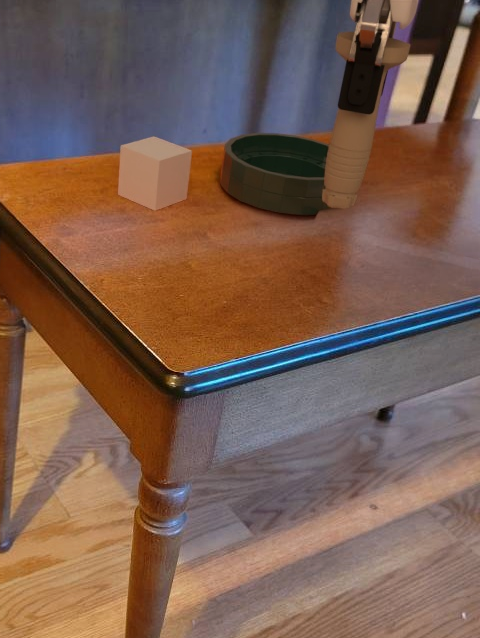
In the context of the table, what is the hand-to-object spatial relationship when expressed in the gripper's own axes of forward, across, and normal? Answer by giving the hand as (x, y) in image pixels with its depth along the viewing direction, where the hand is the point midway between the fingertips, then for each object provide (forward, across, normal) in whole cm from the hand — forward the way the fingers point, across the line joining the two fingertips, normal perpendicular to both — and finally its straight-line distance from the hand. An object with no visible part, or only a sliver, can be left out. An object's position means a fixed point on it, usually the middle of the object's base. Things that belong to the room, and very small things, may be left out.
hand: (360, 101), depth 68 cm
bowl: (+18, +21, +9) cm, 29 cm away
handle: (+10, 0, 0) cm, 10 cm away
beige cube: (+17, +10, +23) cm, 30 cm away
